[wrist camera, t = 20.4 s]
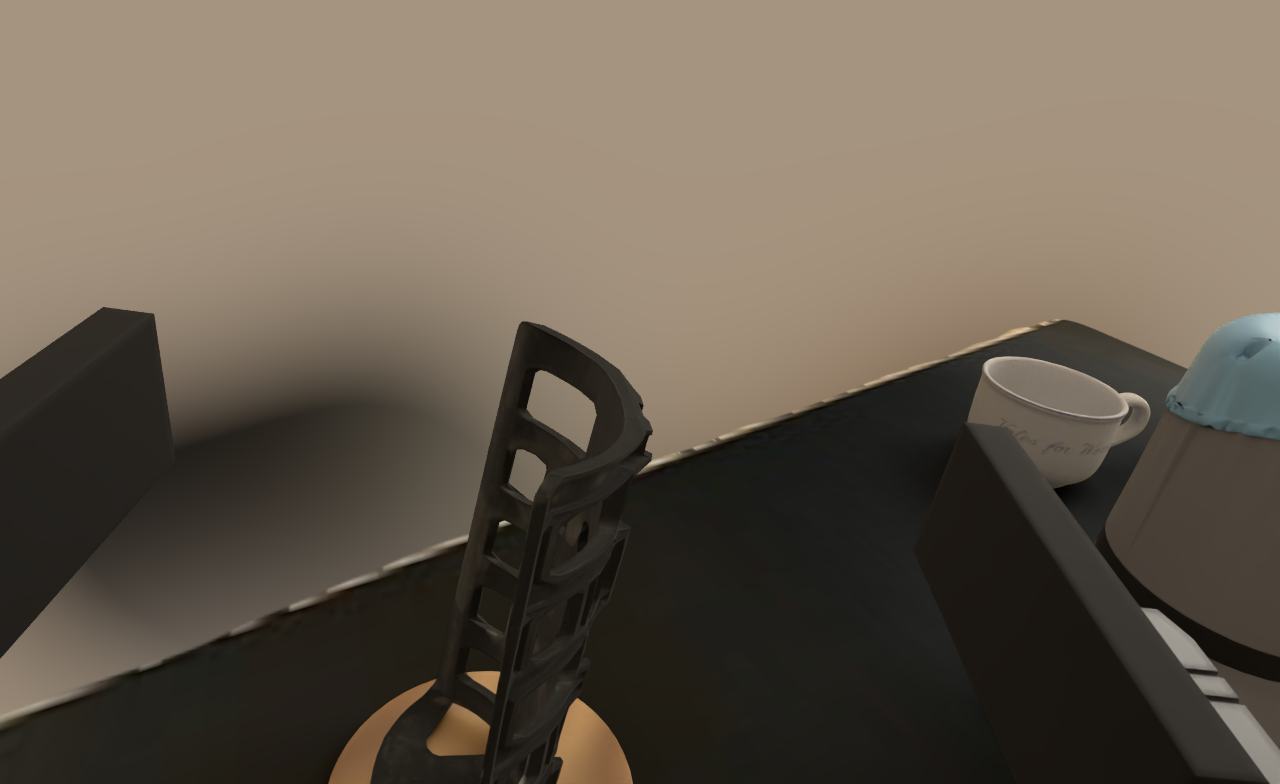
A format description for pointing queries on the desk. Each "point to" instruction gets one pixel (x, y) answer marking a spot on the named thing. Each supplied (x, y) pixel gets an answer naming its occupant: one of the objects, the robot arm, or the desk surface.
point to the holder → (531, 576)
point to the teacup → (1056, 415)
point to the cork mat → (586, 744)
